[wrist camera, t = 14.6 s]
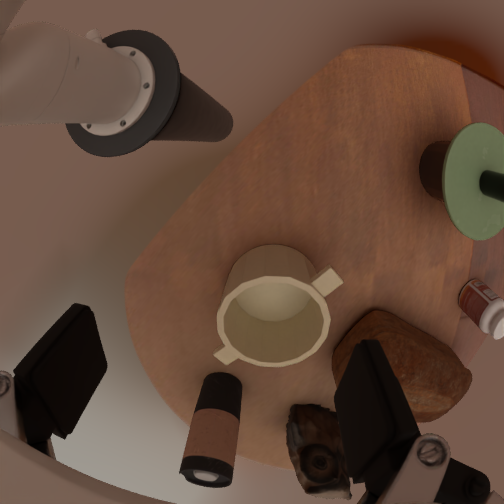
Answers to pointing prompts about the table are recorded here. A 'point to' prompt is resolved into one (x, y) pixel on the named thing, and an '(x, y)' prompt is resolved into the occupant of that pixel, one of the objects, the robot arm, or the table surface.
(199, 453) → the travel mug
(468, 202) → the lid
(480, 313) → the pill bottle
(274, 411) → the table surface
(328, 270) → the pot
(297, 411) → the owl
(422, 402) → the bread
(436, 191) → the cup
